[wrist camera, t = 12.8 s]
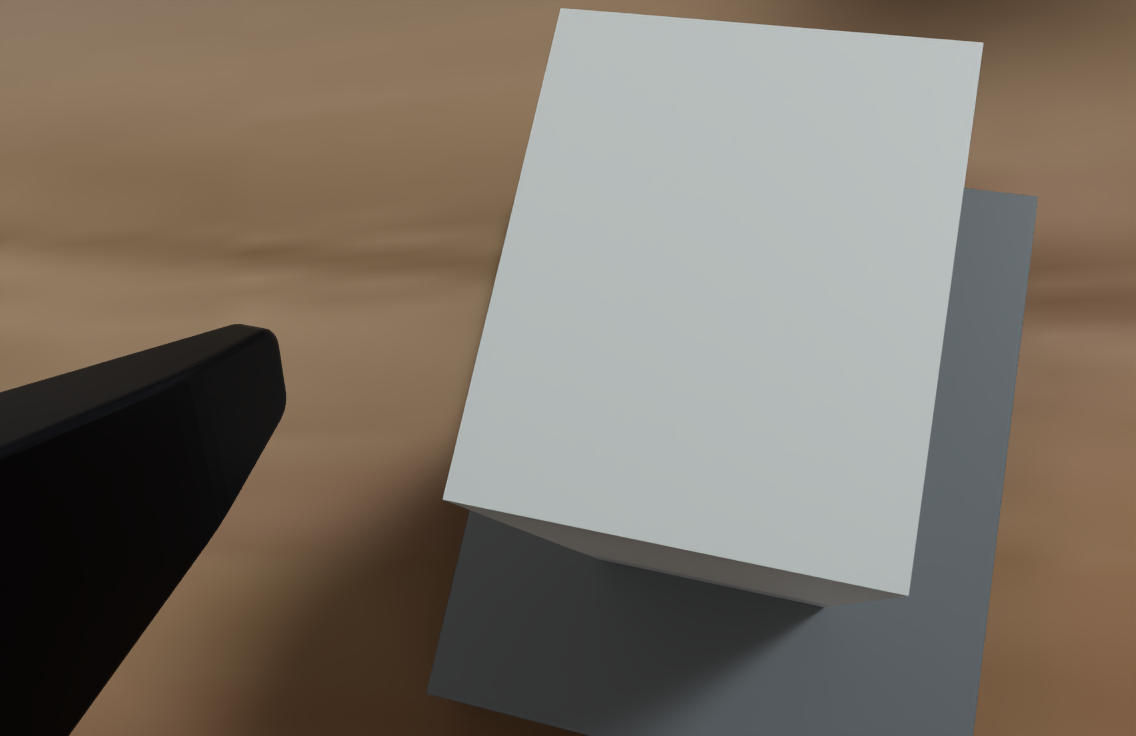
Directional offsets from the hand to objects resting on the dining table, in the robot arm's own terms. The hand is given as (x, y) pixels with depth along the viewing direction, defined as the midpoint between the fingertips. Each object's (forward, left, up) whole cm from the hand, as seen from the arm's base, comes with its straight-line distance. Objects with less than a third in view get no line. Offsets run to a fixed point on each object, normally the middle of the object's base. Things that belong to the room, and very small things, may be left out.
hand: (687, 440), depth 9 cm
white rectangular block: (+2, 0, -10) cm, 10 cm away
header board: (+2, 0, -11) cm, 11 cm away
